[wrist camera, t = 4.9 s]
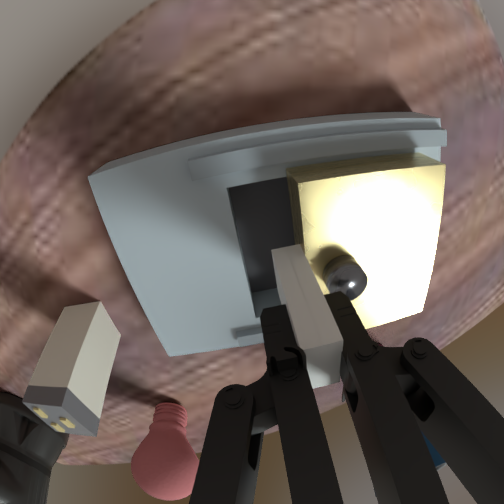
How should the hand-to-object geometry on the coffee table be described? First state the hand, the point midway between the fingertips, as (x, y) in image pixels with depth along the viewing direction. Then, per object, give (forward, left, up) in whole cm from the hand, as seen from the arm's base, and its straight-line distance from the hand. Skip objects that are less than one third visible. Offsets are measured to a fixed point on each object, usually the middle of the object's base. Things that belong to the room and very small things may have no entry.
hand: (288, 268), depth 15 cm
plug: (-16, -5, -5) cm, 18 cm away
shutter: (+5, 0, -1) cm, 5 cm away
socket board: (+1, 0, -5) cm, 5 cm away
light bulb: (-14, -19, -5) cm, 24 cm away
